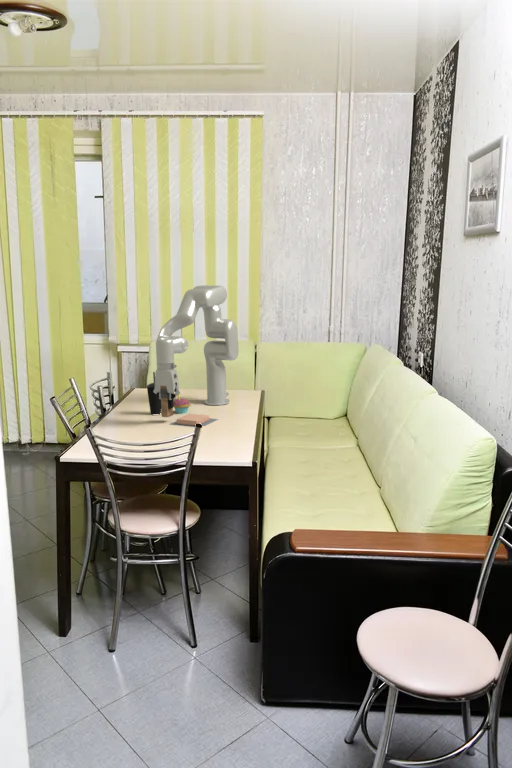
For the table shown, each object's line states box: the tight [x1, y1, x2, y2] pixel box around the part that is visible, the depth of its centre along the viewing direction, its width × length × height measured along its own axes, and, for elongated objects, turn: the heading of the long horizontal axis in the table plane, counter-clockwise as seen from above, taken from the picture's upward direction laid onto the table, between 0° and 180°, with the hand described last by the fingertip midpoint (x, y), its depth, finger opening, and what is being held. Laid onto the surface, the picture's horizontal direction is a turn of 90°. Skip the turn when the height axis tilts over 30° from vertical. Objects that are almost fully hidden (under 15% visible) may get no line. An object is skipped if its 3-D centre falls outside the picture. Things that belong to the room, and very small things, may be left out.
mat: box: [168, 417, 219, 428], centre depth 274 cm, size 16×16×1 cm
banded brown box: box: [160, 386, 174, 418], centre depth 273 cm, size 5×3×14 cm
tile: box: [176, 413, 210, 426], centre depth 273 cm, size 2×10×11 cm
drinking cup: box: [145, 371, 162, 415], centre depth 291 cm, size 8×8×20 cm
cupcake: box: [173, 394, 191, 414], centre depth 291 cm, size 9×8×12 cm
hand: (167, 407), depth 273 cm, fingers closed on banded brown box, 3 cm apart
